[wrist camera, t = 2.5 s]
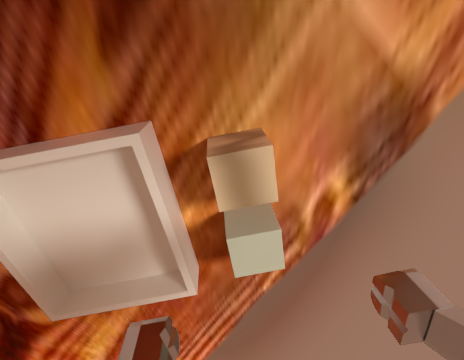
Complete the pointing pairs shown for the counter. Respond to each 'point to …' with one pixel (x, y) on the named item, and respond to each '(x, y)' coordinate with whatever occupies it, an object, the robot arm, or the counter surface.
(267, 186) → the maple block
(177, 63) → the counter surface
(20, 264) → the tray
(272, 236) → the sage block
